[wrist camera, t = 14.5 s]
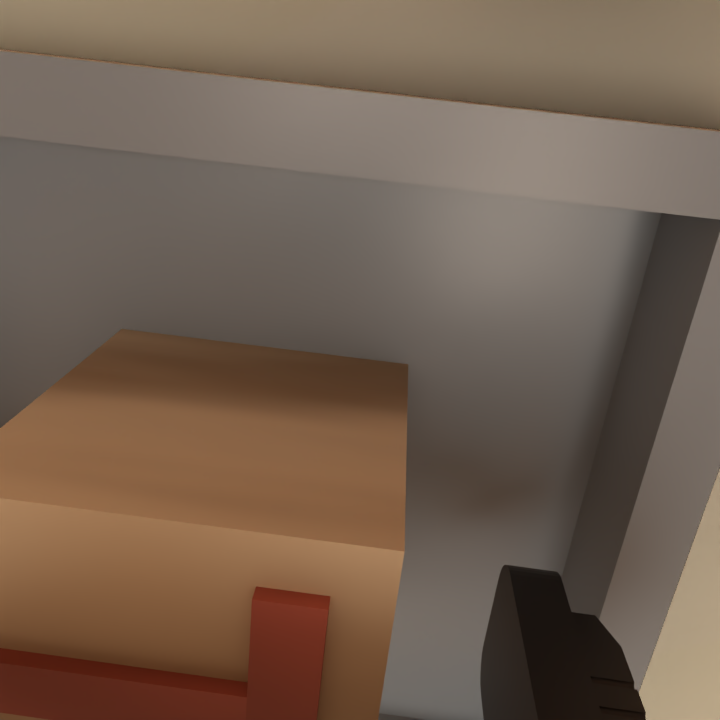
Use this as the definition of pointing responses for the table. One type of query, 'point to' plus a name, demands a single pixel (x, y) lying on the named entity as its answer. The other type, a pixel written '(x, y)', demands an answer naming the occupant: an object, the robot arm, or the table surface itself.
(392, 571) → the letter cube
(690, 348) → the tray
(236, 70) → the table surface
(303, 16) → the table surface
